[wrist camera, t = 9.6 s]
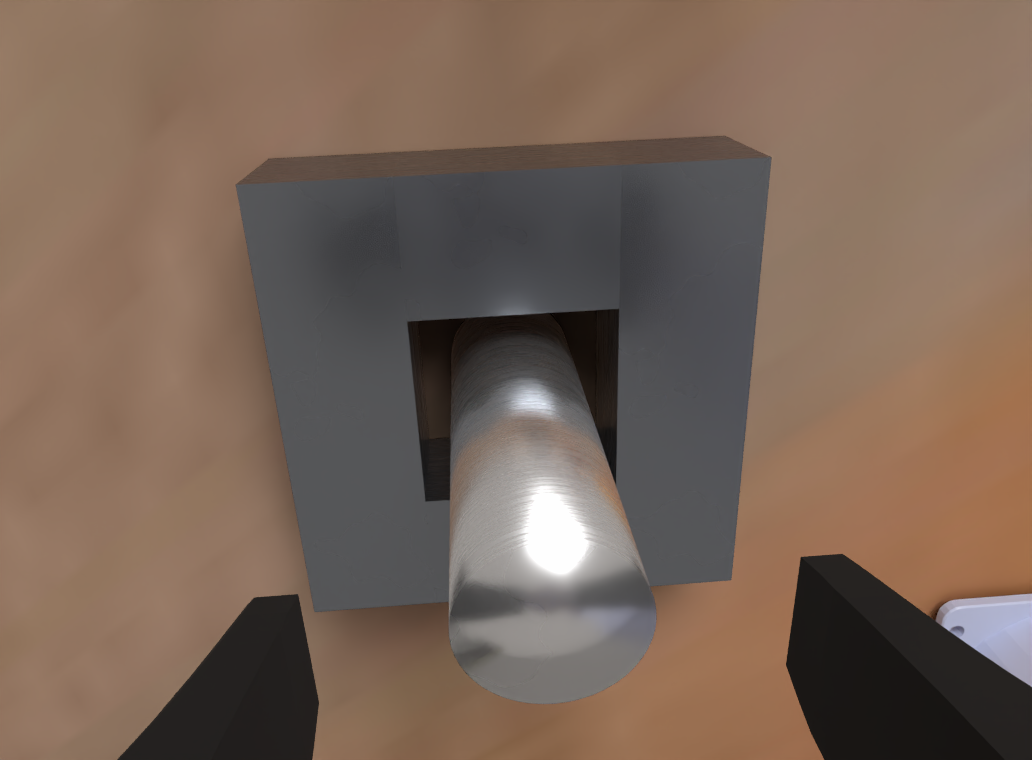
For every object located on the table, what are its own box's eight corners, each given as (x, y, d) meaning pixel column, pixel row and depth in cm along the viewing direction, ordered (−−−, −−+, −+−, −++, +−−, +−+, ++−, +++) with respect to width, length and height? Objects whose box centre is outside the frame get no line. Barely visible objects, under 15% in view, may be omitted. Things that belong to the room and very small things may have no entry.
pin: (568, 403, 21) (652, 695, 12) (455, 411, 21) (456, 711, 12) (566, 296, 20) (659, 532, 11) (447, 303, 20) (441, 549, 11)
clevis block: (698, 513, 23) (731, 579, 20) (331, 539, 22) (314, 611, 20) (725, 135, 19) (771, 157, 16) (268, 158, 18) (235, 184, 15)
